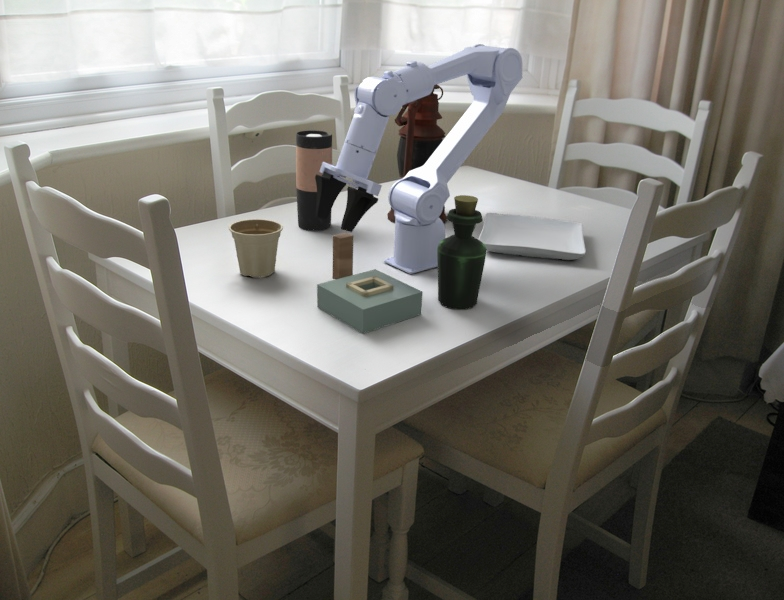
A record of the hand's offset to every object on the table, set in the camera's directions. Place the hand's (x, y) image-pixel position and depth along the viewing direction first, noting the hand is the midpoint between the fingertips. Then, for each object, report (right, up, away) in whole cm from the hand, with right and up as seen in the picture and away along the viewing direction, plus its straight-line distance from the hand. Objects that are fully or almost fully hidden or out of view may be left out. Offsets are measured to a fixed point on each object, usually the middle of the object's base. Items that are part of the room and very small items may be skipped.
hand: (333, 224), depth 122 cm
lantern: (+16, +6, +41) cm, 45 cm away
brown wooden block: (+1, -9, +6) cm, 11 cm away
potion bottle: (+21, -14, -2) cm, 25 cm away
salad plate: (+39, -2, +28) cm, 48 cm away
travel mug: (-7, +3, +33) cm, 34 cm away
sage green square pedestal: (+6, -15, -7) cm, 18 cm away
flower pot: (-14, -8, +7) cm, 18 cm away
